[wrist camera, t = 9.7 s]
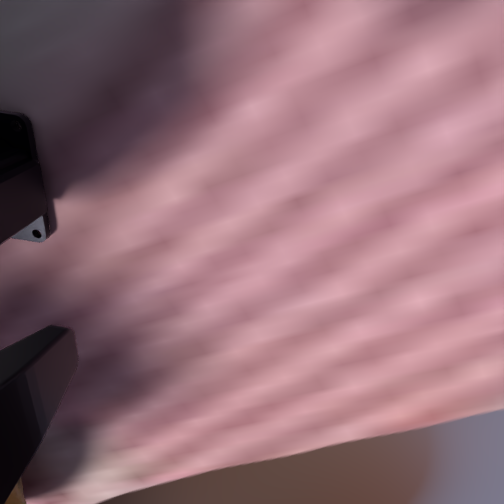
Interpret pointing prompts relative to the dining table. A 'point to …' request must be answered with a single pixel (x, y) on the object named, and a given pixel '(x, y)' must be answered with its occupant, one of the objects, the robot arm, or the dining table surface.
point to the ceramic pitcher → (16, 494)
